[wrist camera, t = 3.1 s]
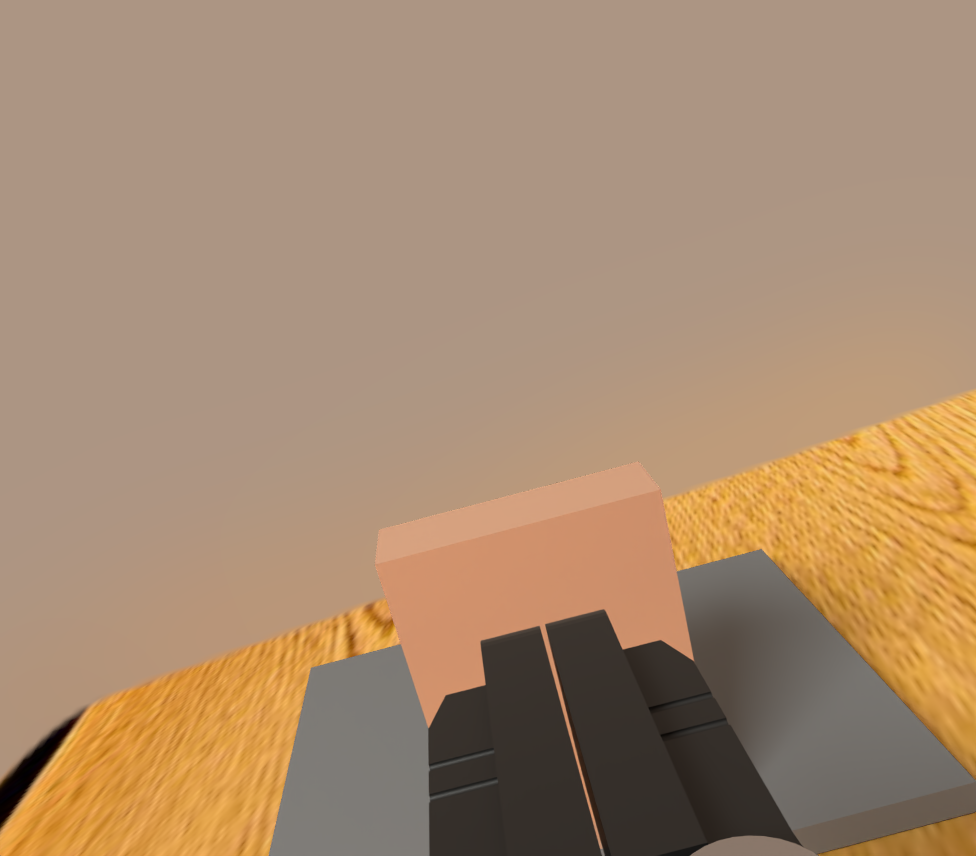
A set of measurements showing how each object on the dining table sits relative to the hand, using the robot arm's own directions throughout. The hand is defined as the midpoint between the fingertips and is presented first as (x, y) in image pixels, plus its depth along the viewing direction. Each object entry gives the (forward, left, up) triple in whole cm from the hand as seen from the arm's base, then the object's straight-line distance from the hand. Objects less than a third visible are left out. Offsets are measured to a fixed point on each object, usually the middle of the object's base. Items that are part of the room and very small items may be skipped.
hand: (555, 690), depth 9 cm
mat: (0, -15, -13) cm, 20 cm away
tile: (0, -10, -12) cm, 16 cm away
